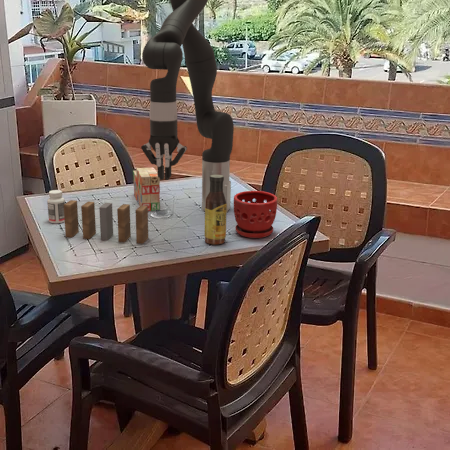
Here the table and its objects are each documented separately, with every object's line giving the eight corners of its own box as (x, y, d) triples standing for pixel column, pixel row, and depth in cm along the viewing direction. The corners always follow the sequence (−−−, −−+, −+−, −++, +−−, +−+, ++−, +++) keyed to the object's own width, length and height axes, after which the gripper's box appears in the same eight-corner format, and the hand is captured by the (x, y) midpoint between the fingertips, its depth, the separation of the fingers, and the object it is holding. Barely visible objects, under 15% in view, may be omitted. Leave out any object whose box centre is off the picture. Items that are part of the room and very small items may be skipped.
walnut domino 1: (78, 232, 198) (77, 200, 195) (72, 237, 193) (69, 205, 190) (72, 231, 198) (70, 200, 195) (65, 237, 194) (63, 204, 191)
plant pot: (224, 232, 200) (224, 194, 196) (257, 224, 208) (258, 188, 204) (251, 244, 190) (252, 204, 186) (284, 235, 198) (286, 197, 194)
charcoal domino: (100, 240, 192) (99, 207, 189) (107, 234, 196) (105, 202, 193) (107, 240, 191) (105, 207, 188) (113, 235, 196) (112, 203, 193)
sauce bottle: (218, 247, 187) (219, 179, 181) (200, 243, 190) (200, 176, 184) (230, 240, 193) (231, 175, 186) (212, 236, 196) (213, 172, 190)
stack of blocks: (133, 195, 239) (132, 162, 235) (150, 194, 240) (149, 161, 236) (141, 212, 219) (140, 176, 215) (160, 210, 221) (159, 175, 217)
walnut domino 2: (96, 233, 197) (94, 201, 194) (89, 239, 192) (87, 206, 189) (89, 233, 197) (88, 201, 194) (83, 238, 193) (81, 206, 190)
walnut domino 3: (130, 236, 195) (129, 204, 192) (124, 242, 190) (123, 209, 187) (124, 236, 195) (123, 204, 192) (118, 241, 191) (117, 208, 187)
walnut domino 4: (148, 238, 194) (147, 205, 191) (143, 243, 189) (142, 210, 186) (141, 237, 194) (141, 205, 191) (136, 243, 190) (135, 210, 186)
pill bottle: (65, 218, 211) (63, 188, 208) (67, 222, 206) (65, 193, 203) (47, 219, 209) (45, 190, 206) (49, 224, 205) (47, 194, 202)
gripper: (190, 116, 181) (191, 177, 187) (144, 114, 184) (145, 174, 189) (183, 121, 174) (184, 184, 180) (135, 118, 177) (137, 181, 182)
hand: (164, 179), depth 184 cm, fingers closed
